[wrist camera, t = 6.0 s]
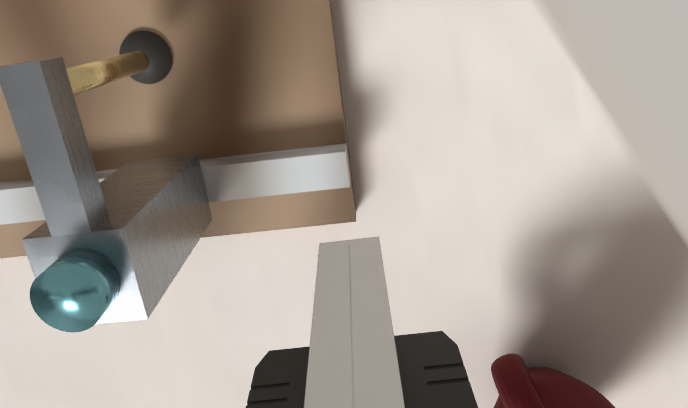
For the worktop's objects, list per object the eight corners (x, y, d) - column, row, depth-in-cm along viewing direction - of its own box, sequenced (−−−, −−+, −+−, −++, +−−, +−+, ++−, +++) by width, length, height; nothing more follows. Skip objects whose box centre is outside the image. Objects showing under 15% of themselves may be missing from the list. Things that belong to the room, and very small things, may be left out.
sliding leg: (146, 226, 25) (32, 351, 16) (97, 45, 22) (-72, 78, 13) (212, 219, 24) (132, 342, 16) (171, 35, 22) (48, 62, 13)
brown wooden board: (-140, 263, 29) (-186, 288, 27) (-254, 23, 25) (-321, 27, 22) (356, 212, 27) (355, 233, 25) (323, -56, 23) (318, -62, 21)
